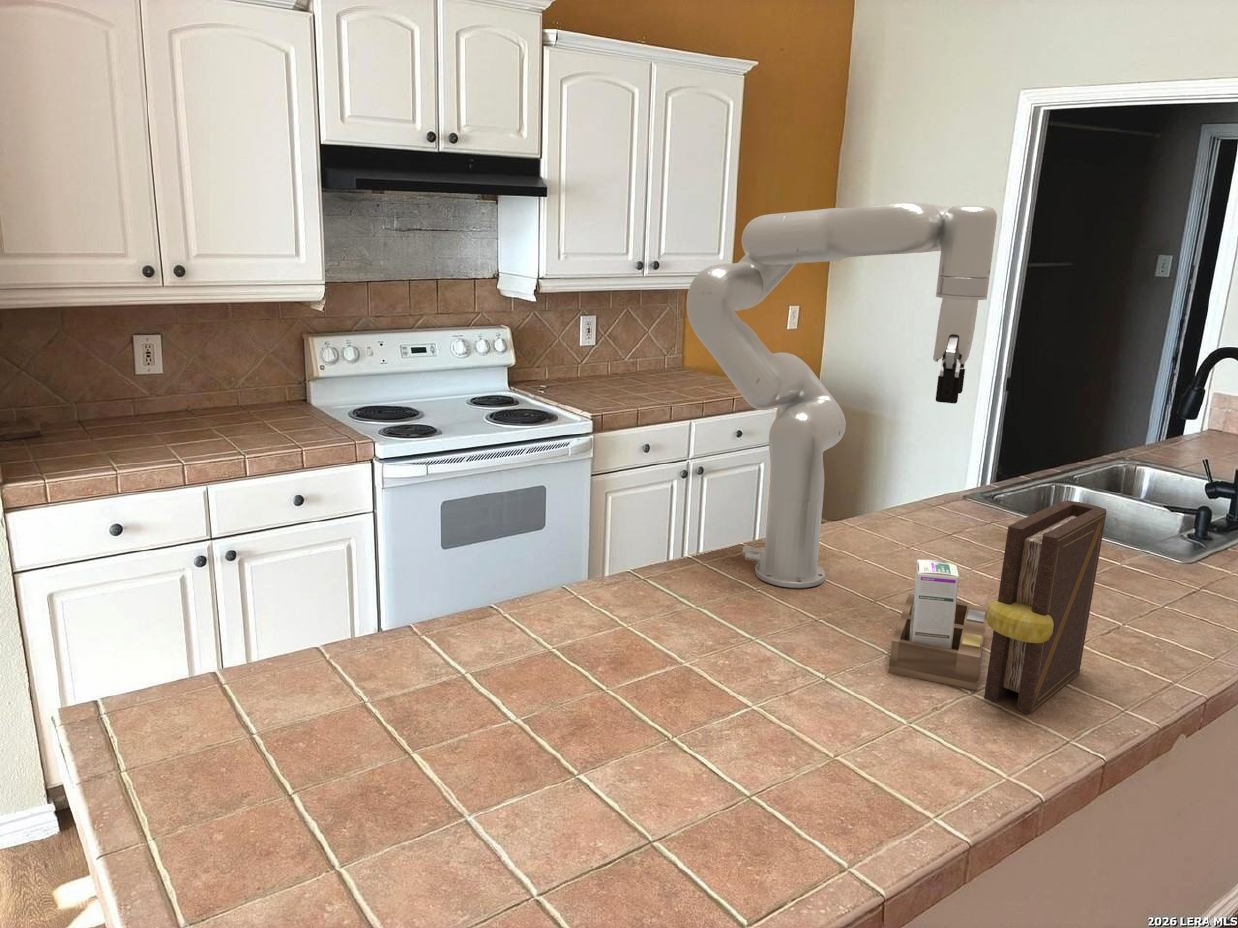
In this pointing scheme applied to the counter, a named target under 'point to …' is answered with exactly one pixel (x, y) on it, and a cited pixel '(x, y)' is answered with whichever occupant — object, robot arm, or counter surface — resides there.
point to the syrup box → (934, 603)
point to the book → (1043, 603)
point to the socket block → (941, 649)
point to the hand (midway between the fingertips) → (949, 397)
